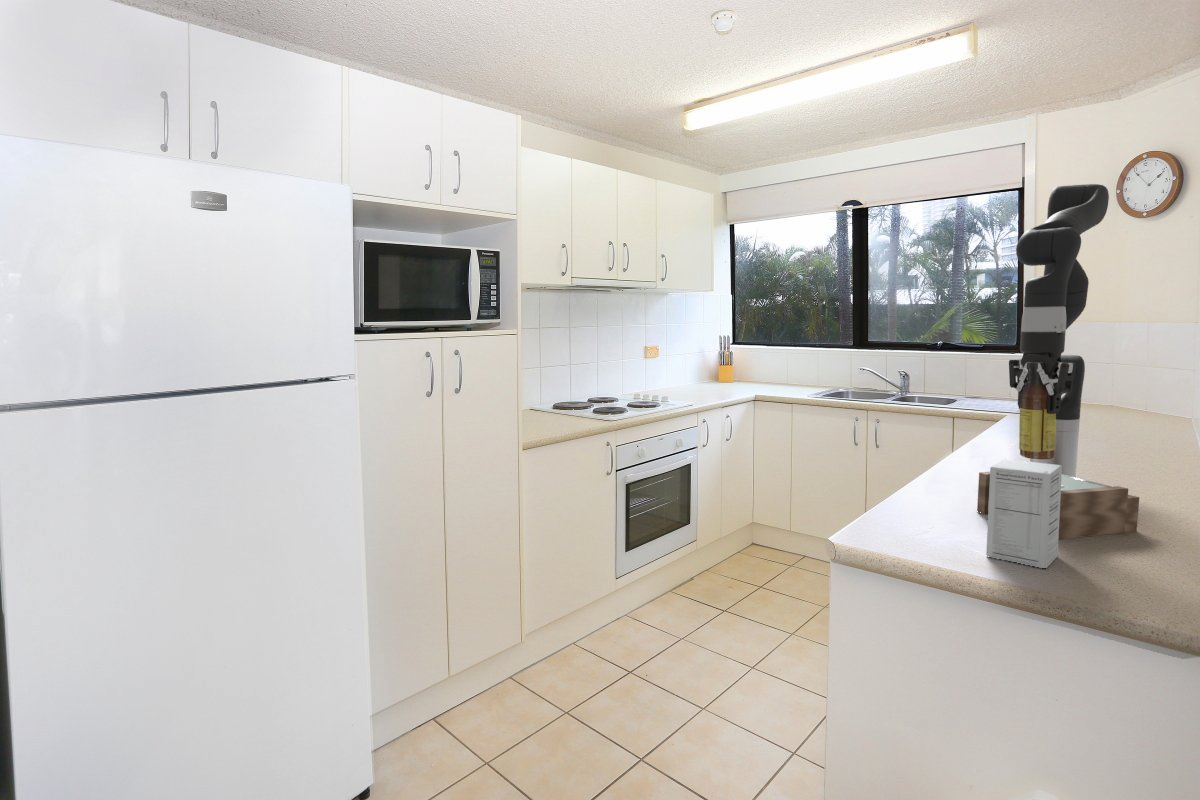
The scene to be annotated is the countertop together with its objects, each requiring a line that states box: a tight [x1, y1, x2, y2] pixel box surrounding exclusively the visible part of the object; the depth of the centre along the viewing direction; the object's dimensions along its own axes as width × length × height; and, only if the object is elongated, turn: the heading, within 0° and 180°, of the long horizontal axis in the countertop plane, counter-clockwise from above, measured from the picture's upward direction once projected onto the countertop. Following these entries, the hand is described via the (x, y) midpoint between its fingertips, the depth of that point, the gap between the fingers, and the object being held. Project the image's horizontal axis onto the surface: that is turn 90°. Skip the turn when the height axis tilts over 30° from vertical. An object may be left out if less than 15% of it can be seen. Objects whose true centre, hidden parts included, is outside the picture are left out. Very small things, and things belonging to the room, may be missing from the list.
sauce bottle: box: [1018, 362, 1056, 459], centre depth 135 cm, size 7×6×20 cm
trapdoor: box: [1061, 474, 1113, 491], centre depth 138 cm, size 17×14×1 cm
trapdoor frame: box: [976, 471, 1140, 540], centre depth 138 cm, size 20×19×9 cm
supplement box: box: [986, 458, 1062, 569], centre depth 118 cm, size 10×9×17 cm
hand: (1038, 411), depth 135 cm, fingers closed on sauce bottle, 6 cm apart
